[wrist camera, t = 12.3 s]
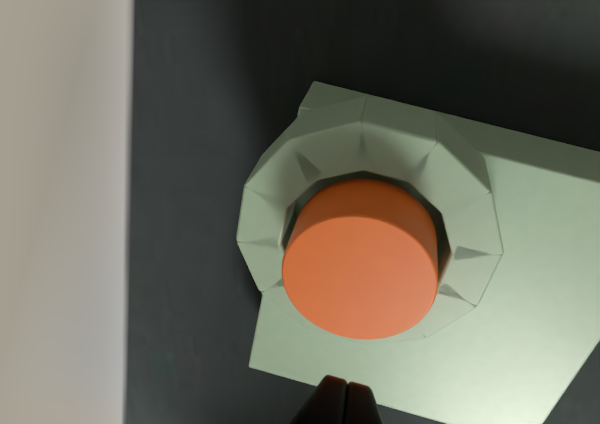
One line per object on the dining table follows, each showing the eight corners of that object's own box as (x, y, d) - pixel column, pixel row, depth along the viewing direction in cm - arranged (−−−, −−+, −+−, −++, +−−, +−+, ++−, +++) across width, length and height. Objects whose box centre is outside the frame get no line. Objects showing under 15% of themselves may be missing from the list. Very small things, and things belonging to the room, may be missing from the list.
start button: (285, 275, 15) (269, 317, 14) (310, 161, 13) (295, 196, 12) (412, 310, 15) (411, 357, 13) (457, 198, 13) (461, 240, 12)
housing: (244, 319, 21) (210, 402, 18) (293, 48, 16) (256, 94, 12) (518, 396, 21) (536, 496, 17) (675, 142, 15) (748, 218, 12)
